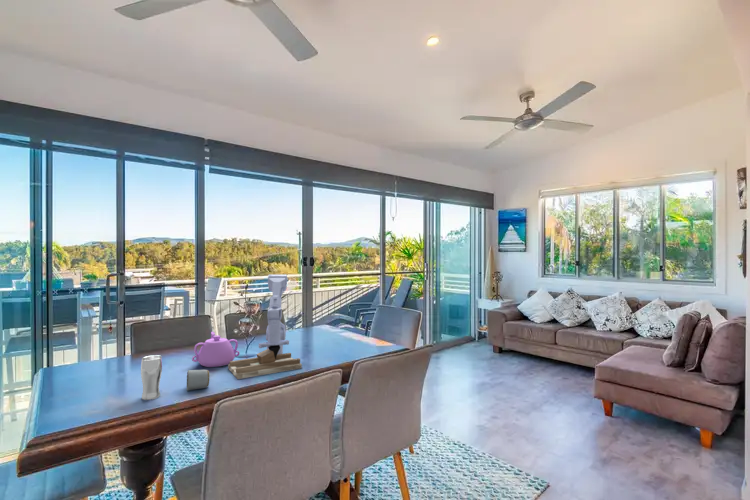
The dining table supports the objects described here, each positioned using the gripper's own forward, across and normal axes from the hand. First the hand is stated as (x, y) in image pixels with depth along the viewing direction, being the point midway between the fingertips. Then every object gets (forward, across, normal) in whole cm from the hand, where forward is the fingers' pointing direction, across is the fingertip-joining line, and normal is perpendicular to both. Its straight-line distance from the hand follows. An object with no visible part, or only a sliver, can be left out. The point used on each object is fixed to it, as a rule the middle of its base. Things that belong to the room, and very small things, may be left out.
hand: (273, 361), depth 183 cm
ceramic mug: (+3, -36, -10) cm, 37 cm away
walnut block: (0, -3, 0) cm, 3 cm away
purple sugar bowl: (+3, -22, +22) cm, 31 cm away
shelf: (+3, -4, 0) cm, 5 cm away
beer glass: (+3, -52, -12) cm, 54 cm away
